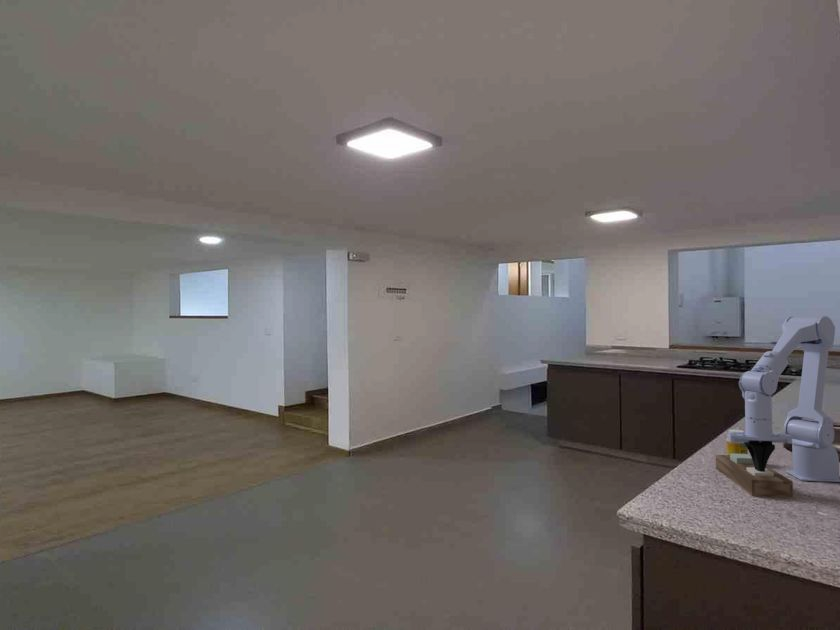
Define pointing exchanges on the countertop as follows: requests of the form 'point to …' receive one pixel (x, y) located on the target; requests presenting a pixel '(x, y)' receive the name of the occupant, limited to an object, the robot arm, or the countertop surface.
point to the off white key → (759, 472)
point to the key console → (755, 479)
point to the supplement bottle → (736, 445)
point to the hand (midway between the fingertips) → (759, 470)
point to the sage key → (741, 458)
